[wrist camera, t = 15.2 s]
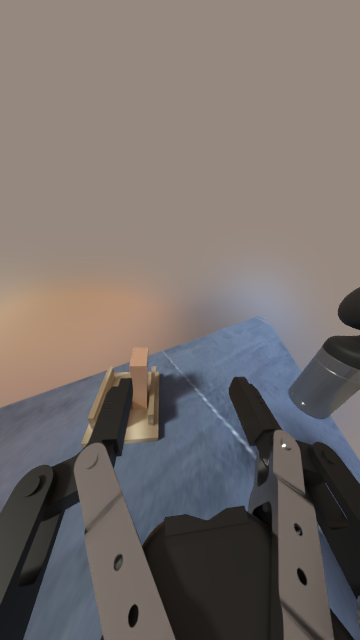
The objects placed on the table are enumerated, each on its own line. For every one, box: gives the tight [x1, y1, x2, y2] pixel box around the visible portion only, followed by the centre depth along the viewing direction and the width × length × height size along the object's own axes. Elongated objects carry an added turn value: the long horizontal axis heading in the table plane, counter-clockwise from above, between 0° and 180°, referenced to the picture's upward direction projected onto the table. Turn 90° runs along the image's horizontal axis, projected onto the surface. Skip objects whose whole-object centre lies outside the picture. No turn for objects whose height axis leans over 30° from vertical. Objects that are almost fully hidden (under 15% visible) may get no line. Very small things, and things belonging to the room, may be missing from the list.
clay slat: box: [129, 348, 148, 410], centre depth 31 cm, size 3×5×14 cm, turn 7°
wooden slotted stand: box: [81, 366, 159, 447], centre depth 33 cm, size 14×16×6 cm
